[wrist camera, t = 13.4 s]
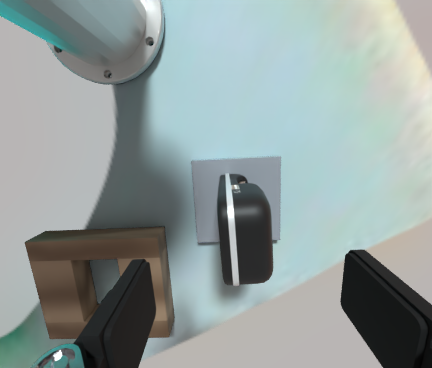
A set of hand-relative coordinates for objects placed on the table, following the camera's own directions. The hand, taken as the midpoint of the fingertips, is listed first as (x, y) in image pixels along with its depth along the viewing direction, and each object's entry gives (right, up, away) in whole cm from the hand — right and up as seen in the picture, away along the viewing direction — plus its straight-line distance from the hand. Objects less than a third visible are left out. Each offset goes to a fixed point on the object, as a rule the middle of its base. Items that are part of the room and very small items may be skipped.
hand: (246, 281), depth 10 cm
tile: (+1, +3, +16) cm, 16 cm away
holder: (-15, -8, +19) cm, 26 cm away
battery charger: (+1, +3, +15) cm, 15 cm away
